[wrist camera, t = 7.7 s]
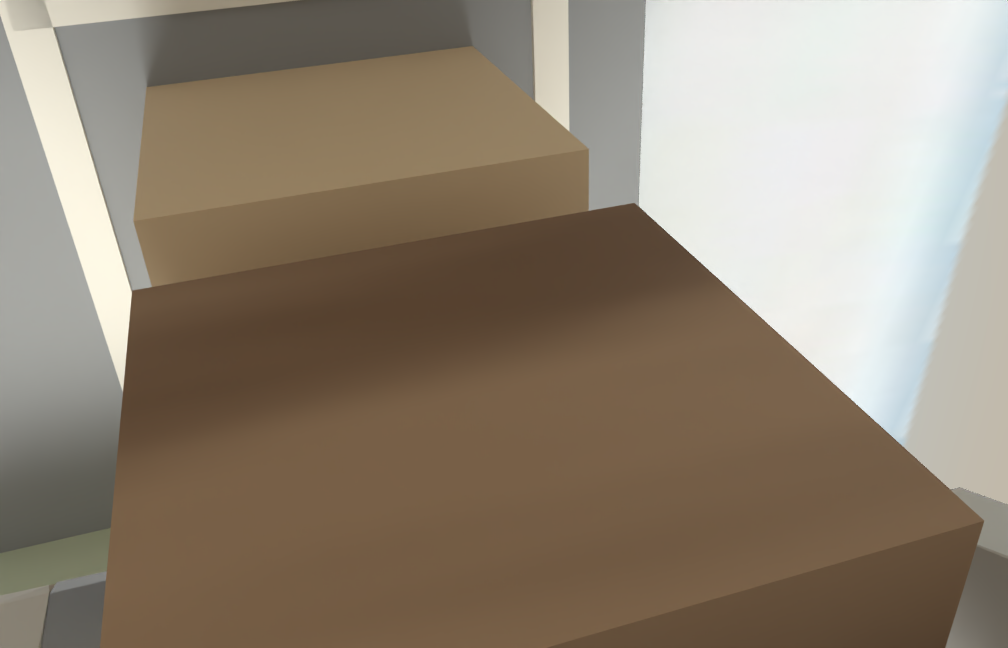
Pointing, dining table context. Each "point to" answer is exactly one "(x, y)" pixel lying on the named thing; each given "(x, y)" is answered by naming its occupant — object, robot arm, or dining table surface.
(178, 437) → the walnut block
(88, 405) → the building board
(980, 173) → the dining table surface
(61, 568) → the sage block
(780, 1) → the dining table surface
